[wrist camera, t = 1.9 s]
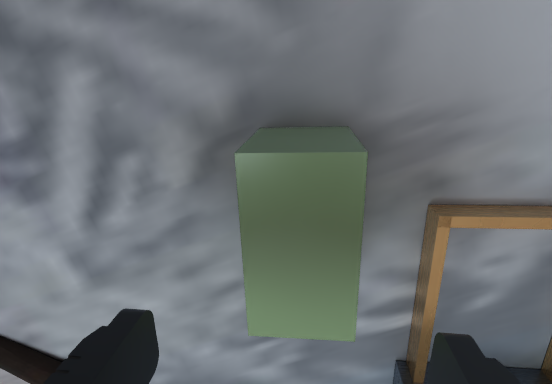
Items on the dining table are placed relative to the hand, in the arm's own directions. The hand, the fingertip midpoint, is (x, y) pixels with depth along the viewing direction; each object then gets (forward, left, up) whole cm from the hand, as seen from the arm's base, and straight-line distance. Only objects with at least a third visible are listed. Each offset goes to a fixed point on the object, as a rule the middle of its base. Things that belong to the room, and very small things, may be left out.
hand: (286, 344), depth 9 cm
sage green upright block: (-1, 0, -10) cm, 10 cm away
